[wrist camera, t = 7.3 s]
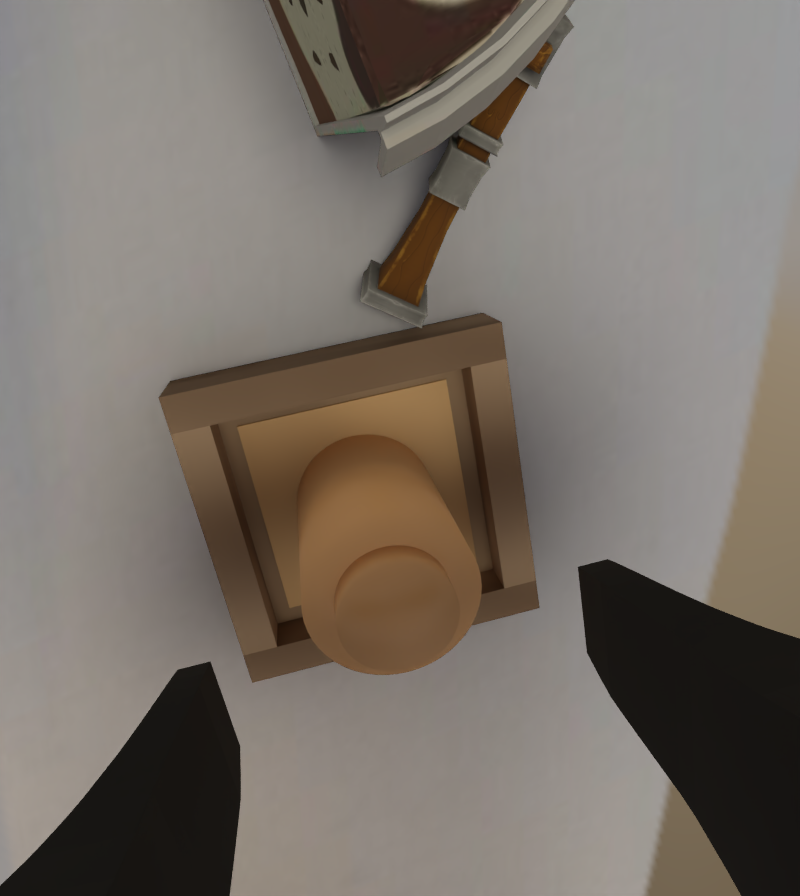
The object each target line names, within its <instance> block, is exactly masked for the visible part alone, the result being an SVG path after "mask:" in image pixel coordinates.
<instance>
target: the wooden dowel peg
mask: <svg viewBox="0 0 800 896" xmlns="http://www.w3.org/2000/svg"><path fill="white" fill-rule="evenodd" d="M297 511H298V536H299V561H300V586H301V609H302V616H303V621H304V624H305V626H306V629H307V631H308V633H309V635H310V637H311V639H312V640H313V642H314V643H315V644H316V646H317V647H318V648H319V649H320V650H321V651H322V652H323V653H324V654H325V655H326V656H328V657H329V658H330V659H332V660H333V661H334V662H336V663H338V664H340V665H342V666H344V667H346V668H349V669H351V670H354V671H358V672H362V673H367V674H375V675H390V674H399V673H404V672H409V671H412V670H415V669H418V668H421V667H424V666H426V665H428V664H430V663H432V662H434V661H436V660H437V659H439V658H441V657H442V656H443V655H445V654H446V653H447V652H449V651H450V650H451V649H452V648H453V647H454V646H455V645H457V644H458V643H459V641H460V640H461V639H462V638H463V637H464V636H465V634H466V633H467V631H468V630H469V628H470V627H471V625H472V623H473V621H474V619H475V617H476V614H477V611H478V609H479V605H480V600H481V591H482V583H481V575H480V571H479V567H478V564H477V562H476V559H475V557H474V555H473V553H472V551H471V550H470V548H469V546H468V544H467V542H466V540H465V539H464V537H463V535H462V533H461V531H460V530H459V528H458V526H457V524H456V522H455V521H454V519H453V517H452V515H451V513H450V511H449V510H448V508H447V506H446V504H445V502H444V501H443V499H442V497H441V495H440V493H439V492H438V490H437V488H436V486H435V484H434V482H433V481H432V479H431V477H430V475H429V473H428V472H427V470H426V468H425V466H424V465H423V463H422V461H421V460H420V459H419V457H418V456H417V455H416V454H415V453H414V452H413V451H412V450H411V449H410V448H408V447H407V446H405V445H404V444H402V443H400V442H398V441H396V440H394V439H391V438H388V437H385V436H380V435H371V434H366V435H356V436H350V437H347V438H344V439H341V440H339V441H336V442H334V443H332V444H331V445H329V446H327V447H326V448H324V449H323V450H322V451H321V452H319V453H318V454H317V455H316V456H315V457H314V458H313V459H312V461H311V462H310V463H309V465H308V466H307V468H306V469H305V471H304V473H303V475H302V478H301V480H300V483H299V487H298V493H297Z"/></svg>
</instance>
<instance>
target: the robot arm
mask: <svg viewBox="0 0 800 896" xmlns="http://www.w3.org/2000/svg"><path fill="white" fill-rule="evenodd" d="M578 572H579V581H580V590H581V600H582V609H583V619H584V628H585V637H586V647H587V653H588V655H589V657H590V659H591V661H592V663H593V665H594V667H595V669H596V671H597V672H598V674H599V676H600V678H601V680H602V682H603V684H604V685H605V687H606V689H607V691H608V693H609V694H610V696H611V698H612V699H613V701H614V702H615V703H616V705H617V706H618V708H619V709H620V711H621V712H622V713H623V715H624V716H625V718H626V719H627V720H628V722H629V723H630V725H631V726H632V727H633V729H634V730H635V732H636V733H637V734H638V736H639V737H640V739H641V740H642V741H643V743H644V744H645V745H646V747H647V748H648V750H649V751H650V752H651V754H652V755H653V757H654V758H655V759H656V761H657V762H658V763H659V765H660V766H661V768H662V769H663V770H664V772H665V773H666V775H667V776H668V777H669V779H670V780H671V781H672V783H673V784H674V786H675V787H676V788H677V790H678V791H679V792H680V794H681V795H682V797H683V798H684V800H685V801H686V803H687V804H688V806H689V807H690V809H691V810H692V812H693V813H694V815H695V816H696V818H697V820H698V821H699V823H700V825H701V826H702V828H703V830H704V832H705V833H706V835H707V837H708V838H709V840H710V842H711V843H712V845H713V847H714V849H715V850H716V852H717V854H718V856H719V857H720V859H721V860H722V862H723V864H724V866H725V867H726V869H727V871H728V873H729V874H730V876H731V878H732V880H733V882H734V883H735V885H736V887H737V889H738V891H739V892H740V894H741V896H800V639H799V638H796V637H793V636H789V635H786V634H783V633H780V632H777V631H774V630H771V629H767V628H765V627H762V626H759V625H756V624H754V623H751V622H748V621H745V620H743V619H741V618H738V617H735V616H733V615H730V614H728V613H725V612H723V611H720V610H718V609H715V608H713V607H711V606H708V605H706V604H704V603H701V602H699V601H697V600H694V599H692V598H690V597H688V596H686V595H683V594H681V593H679V592H677V591H675V590H673V589H670V588H668V587H666V586H664V585H662V584H660V583H658V582H656V581H654V580H651V579H649V578H647V577H645V576H643V575H641V574H639V573H637V572H635V571H633V570H631V569H628V568H626V567H624V566H622V565H620V564H618V563H615V562H613V561H610V560H608V559H607V560H603V561H599V562H595V563H591V564H587V565H584V566H580V567H578ZM240 800H241V769H240V745H239V742H238V739H237V736H236V733H235V730H234V728H233V725H232V722H231V719H230V716H229V713H228V710H227V708H226V705H225V702H224V699H223V696H222V693H221V691H220V688H219V685H218V682H217V679H216V676H215V673H214V671H213V668H212V665H211V662H207V663H203V664H199V665H195V666H191V667H187V668H183V669H179V670H177V672H176V673H175V674H174V676H173V677H172V678H171V680H170V681H169V683H168V684H167V685H166V687H165V688H164V690H163V691H162V693H161V694H160V696H159V697H158V698H157V700H156V701H155V703H154V704H153V706H152V707H151V709H150V710H149V711H148V713H147V714H146V716H145V717H144V719H143V720H142V721H141V723H140V724H139V726H138V727H137V728H136V730H135V731H134V733H133V734H132V735H131V737H130V738H129V740H128V741H127V742H126V744H125V745H124V746H123V748H122V749H121V751H120V752H119V753H118V755H117V756H116V757H115V758H114V760H113V761H112V762H111V763H110V765H109V766H108V767H107V769H106V770H105V771H104V772H103V774H102V775H101V776H100V777H99V779H98V780H97V781H96V782H95V784H94V785H93V786H92V787H91V789H90V790H89V791H88V793H87V794H86V795H85V796H84V798H83V799H82V800H81V801H80V802H79V804H78V805H77V806H76V807H75V808H74V809H73V811H72V812H71V813H70V814H69V815H68V816H67V817H66V819H65V820H64V821H63V822H62V823H61V824H60V825H59V826H58V828H57V829H56V830H55V831H54V832H53V833H52V834H51V835H50V836H49V837H48V838H47V839H46V840H45V842H44V843H43V844H42V845H41V846H40V847H39V848H38V849H37V850H36V851H35V852H34V853H33V854H32V855H31V856H30V857H29V858H28V859H27V860H26V861H25V862H24V863H23V864H22V865H21V866H20V867H19V868H18V869H17V870H16V871H15V872H14V873H13V874H12V875H11V876H10V877H9V878H8V879H7V880H6V881H5V882H4V883H3V884H1V886H0V896H230V888H231V879H232V871H233V862H234V854H235V846H236V837H237V828H238V819H239V810H240Z"/></svg>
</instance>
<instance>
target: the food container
mask: <svg viewBox="0 0 800 896" xmlns="http://www.w3.org/2000/svg"><path fill="white" fill-rule="evenodd" d="M263 1H264V4H265V6H266V9H267V11H268V14H269V16H270V19H271V21H272V24H273V26H274V29H275V31H276V34H277V36H278V39H279V41H280V44H281V46H282V49H283V51H284V54H285V56H286V59H287V61H288V64H289V66H290V69H291V71H292V74H293V76H294V79H295V81H296V84H297V86H298V89H299V91H300V94H301V96H302V99H303V101H304V104H305V106H306V109H307V111H308V114H309V116H310V119H311V121H312V124H313V126H314V128H315V131H316V133H317V136H325V135H336V134H347V133H358V132H369V131H378V132H379V135H380V138H381V146H380V152H379V158H378V164H377V168H378V170H379V173H380V175H381V177H382V176H384V175H386V174H388V173H390V172H392V171H393V170H395V169H397V168H399V167H401V166H403V165H404V164H406V163H408V162H410V161H412V160H414V159H415V158H417V157H419V156H421V155H423V154H425V153H426V152H428V151H430V150H432V149H434V148H435V147H437V146H438V145H439V144H440V143H442V142H443V141H444V140H446V139H447V138H448V137H450V136H451V135H452V134H453V133H455V132H456V131H457V130H459V129H460V128H461V127H463V126H464V125H465V124H467V123H468V122H469V121H470V120H472V119H473V118H474V117H476V116H477V115H478V114H480V113H481V112H482V111H483V110H485V109H486V108H487V107H488V106H489V105H490V104H491V103H492V102H493V101H494V100H495V99H496V98H497V97H498V96H499V95H500V94H501V92H502V91H503V90H504V89H505V88H506V87H507V86H508V85H509V84H510V83H511V82H512V81H513V80H514V79H515V78H516V77H517V76H518V75H519V74H520V72H521V71H522V70H523V69H524V68H525V67H526V66H527V65H528V64H529V63H530V62H531V61H532V60H533V59H534V58H535V56H536V55H537V53H538V52H539V50H540V49H541V48H542V46H543V45H544V43H545V42H546V40H547V39H548V38H549V36H550V35H551V33H552V32H553V30H554V29H555V28H556V26H557V25H558V23H559V22H560V21H561V19H562V18H563V16H564V15H565V13H566V12H567V11H568V9H569V8H570V6H571V5H572V3H573V2H574V1H575V0H263Z"/></svg>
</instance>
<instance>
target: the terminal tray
mask: <svg viewBox="0 0 800 896" xmlns="http://www.w3.org/2000/svg"><path fill="white" fill-rule="evenodd" d="M159 400H160V403H161V406H162V409H163V412H164V415H165V418H166V421H167V424H168V427H169V430H170V433H171V436H172V439H173V443H174V446H175V449H176V452H177V455H178V458H179V461H180V464H181V467H182V470H183V473H184V476H185V479H186V482H187V485H188V488H189V491H190V494H191V497H192V500H193V503H194V506H195V509H196V513H197V516H198V519H199V522H200V525H201V528H202V531H203V534H204V537H205V540H206V543H207V546H208V549H209V552H210V555H211V558H212V561H213V564H214V567H215V570H216V573H217V576H218V579H219V583H220V586H221V589H222V592H223V595H224V598H225V601H226V604H227V607H228V610H229V613H230V616H231V619H232V622H233V625H234V628H235V631H236V634H237V637H238V640H239V643H240V646H241V649H242V652H243V656H244V659H245V662H246V665H247V668H248V671H249V674H250V677H251V680H252V683H253V682H257V681H261V680H265V679H269V678H272V677H276V676H280V675H284V674H288V673H291V672H295V671H299V670H303V669H307V668H311V667H314V666H318V665H322V664H326V663H330V662H334V661H333V660H332V659H330V658H329V657H328V656H326V655H325V654H324V653H323V652H322V651H321V650H320V649H319V648H318V647H317V646H316V644H315V643H314V642H313V640H312V639H311V637H310V635H309V633H308V631H307V629H306V626H305V624H304V621H303V616H302V609H301V586H300V561H299V536H298V511H297V493H298V487H299V483H300V480H301V478H302V475H303V473H304V471H305V469H306V468H307V466H308V465H309V463H310V462H311V461H312V459H313V458H314V457H315V456H316V455H317V454H318V453H319V452H321V451H322V450H323V449H324V448H326V447H327V446H329V445H331V444H332V443H334V442H336V441H339V440H341V439H344V438H347V437H350V436H356V435H366V434H371V435H380V436H385V437H388V438H391V439H394V440H396V441H398V442H400V443H402V444H404V445H405V446H407V447H408V448H410V449H411V450H412V451H413V452H414V453H415V454H416V455H417V456H418V457H419V459H420V460H421V461H422V463H423V465H424V466H425V468H426V470H427V472H428V473H429V475H430V477H431V479H432V481H433V482H434V484H435V486H436V488H437V490H438V492H439V493H440V495H441V497H442V499H443V501H444V502H445V504H446V506H447V508H448V510H449V511H450V513H451V515H452V517H453V519H454V521H455V522H456V524H457V526H458V528H459V530H460V531H461V533H462V535H463V537H464V539H465V540H466V542H467V544H468V546H469V548H470V550H471V551H472V553H473V555H474V557H475V559H476V562H477V564H478V567H479V571H480V575H481V583H482V591H481V600H480V605H479V609H478V611H477V614H476V617H475V619H474V621H473V623H472V625H475V624H479V623H483V622H487V621H491V620H495V619H498V618H502V617H506V616H510V615H514V614H518V613H521V612H525V611H529V610H533V609H537V608H539V601H538V593H537V586H536V578H535V571H534V563H533V555H532V548H531V540H530V533H529V525H528V518H527V510H526V503H525V495H524V488H523V480H522V472H521V465H520V457H519V450H518V442H517V435H516V427H515V420H514V412H513V405H512V397H511V389H510V382H509V374H508V367H507V359H506V352H505V344H504V337H503V329H502V322H500V321H498V320H496V319H494V318H492V317H490V316H488V315H486V314H484V313H480V314H475V315H471V316H466V317H462V318H457V319H453V320H448V321H443V322H439V323H434V324H430V325H425V326H422V328H420V327H416V328H411V329H407V330H402V331H398V332H393V333H389V334H384V335H379V336H375V337H370V338H366V339H361V340H357V341H352V342H347V343H343V344H338V345H334V346H329V347H325V348H320V349H315V350H311V351H306V352H302V353H297V354H293V355H288V356H283V357H279V358H274V359H270V360H265V361H260V362H256V363H251V364H247V365H242V366H238V367H233V368H228V369H224V370H219V371H215V372H210V373H206V374H201V375H196V376H192V377H187V378H183V379H178V380H174V381H170V382H169V384H168V385H167V387H166V388H165V390H164V391H163V392H162V394H161V395H160V397H159ZM472 625H471V626H472Z"/></svg>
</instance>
